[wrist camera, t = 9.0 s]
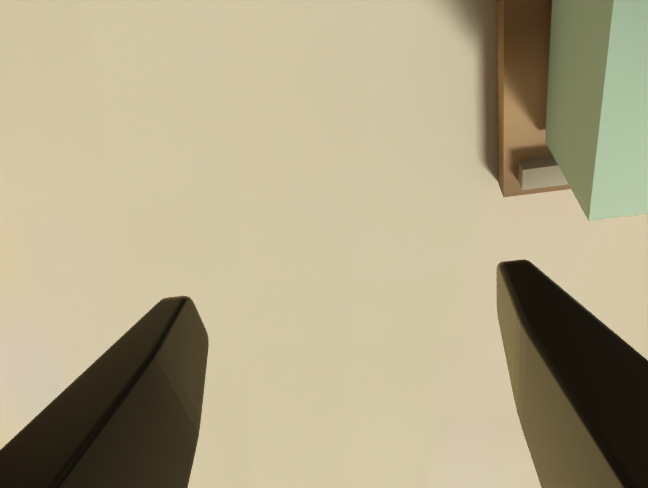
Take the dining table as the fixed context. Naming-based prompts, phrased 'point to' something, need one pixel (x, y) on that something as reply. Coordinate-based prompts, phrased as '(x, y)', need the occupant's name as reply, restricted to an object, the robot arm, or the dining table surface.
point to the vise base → (524, 99)
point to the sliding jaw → (600, 103)
